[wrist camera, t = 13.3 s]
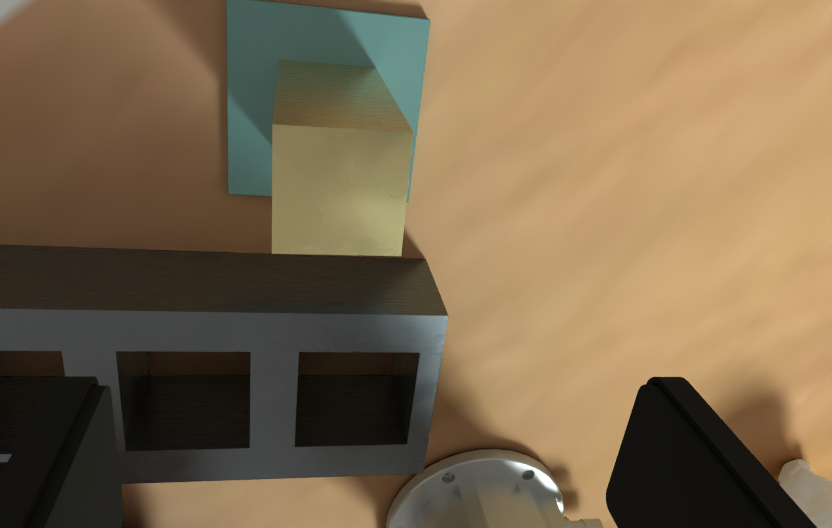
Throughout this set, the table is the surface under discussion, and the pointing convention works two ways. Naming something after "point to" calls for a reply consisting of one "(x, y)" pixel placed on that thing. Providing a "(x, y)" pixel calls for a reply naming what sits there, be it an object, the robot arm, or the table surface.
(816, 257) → the table surface
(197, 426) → the graphite rack rail
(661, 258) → the table surface
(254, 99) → the teal rubber mat
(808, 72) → the table surface
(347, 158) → the tan rectangular block
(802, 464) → the white animal figurine
